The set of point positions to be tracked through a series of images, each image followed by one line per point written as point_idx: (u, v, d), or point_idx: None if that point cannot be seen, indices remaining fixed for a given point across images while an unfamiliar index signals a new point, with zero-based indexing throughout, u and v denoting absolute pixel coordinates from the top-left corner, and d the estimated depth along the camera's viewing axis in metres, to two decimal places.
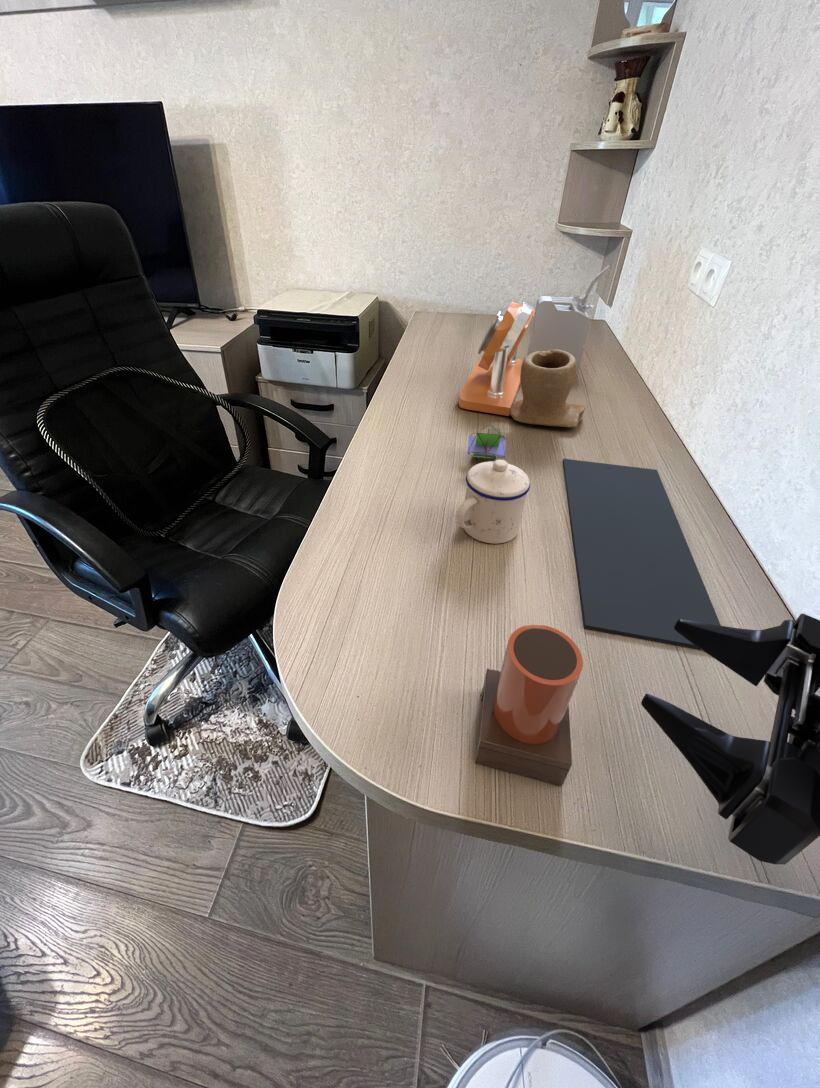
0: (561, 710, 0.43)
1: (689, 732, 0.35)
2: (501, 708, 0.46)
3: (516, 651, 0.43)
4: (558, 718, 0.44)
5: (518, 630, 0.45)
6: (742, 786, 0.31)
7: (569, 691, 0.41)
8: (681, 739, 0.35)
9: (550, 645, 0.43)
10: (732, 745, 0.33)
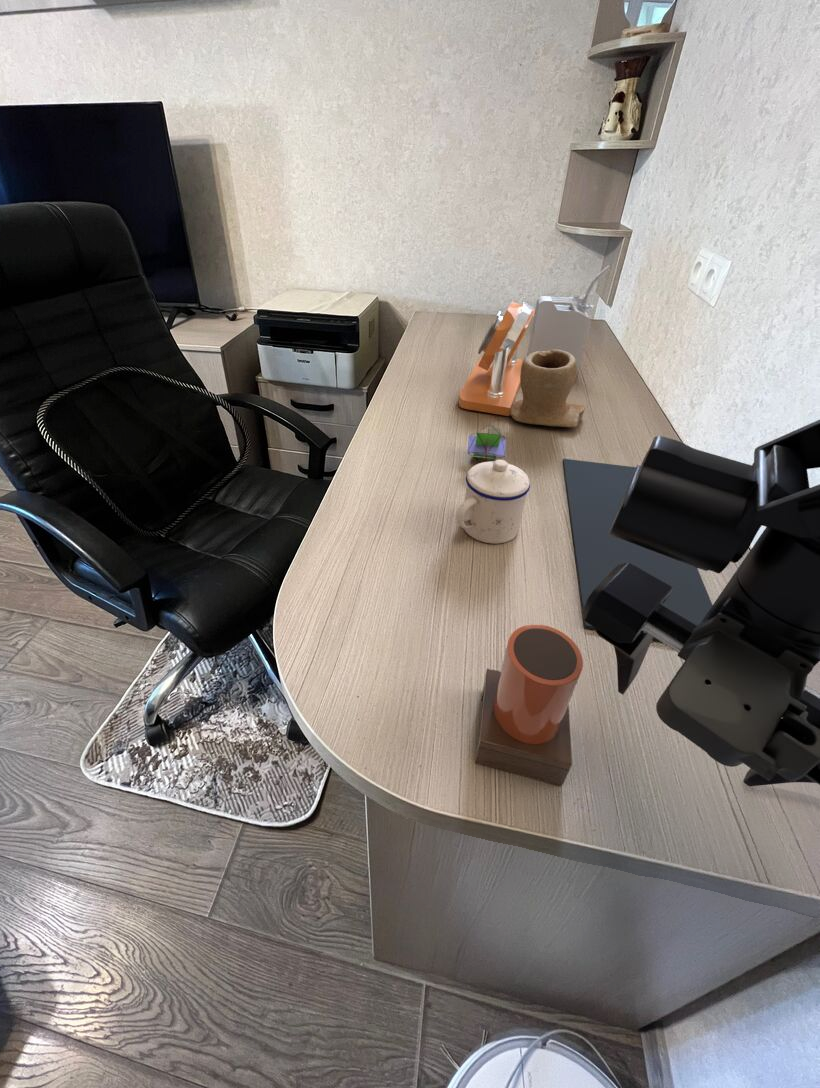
0: (561, 710, 0.43)
1: None
2: (501, 708, 0.46)
3: (516, 651, 0.43)
4: (558, 718, 0.44)
5: (518, 630, 0.45)
6: None
7: (569, 691, 0.41)
8: None
9: (550, 645, 0.43)
10: None
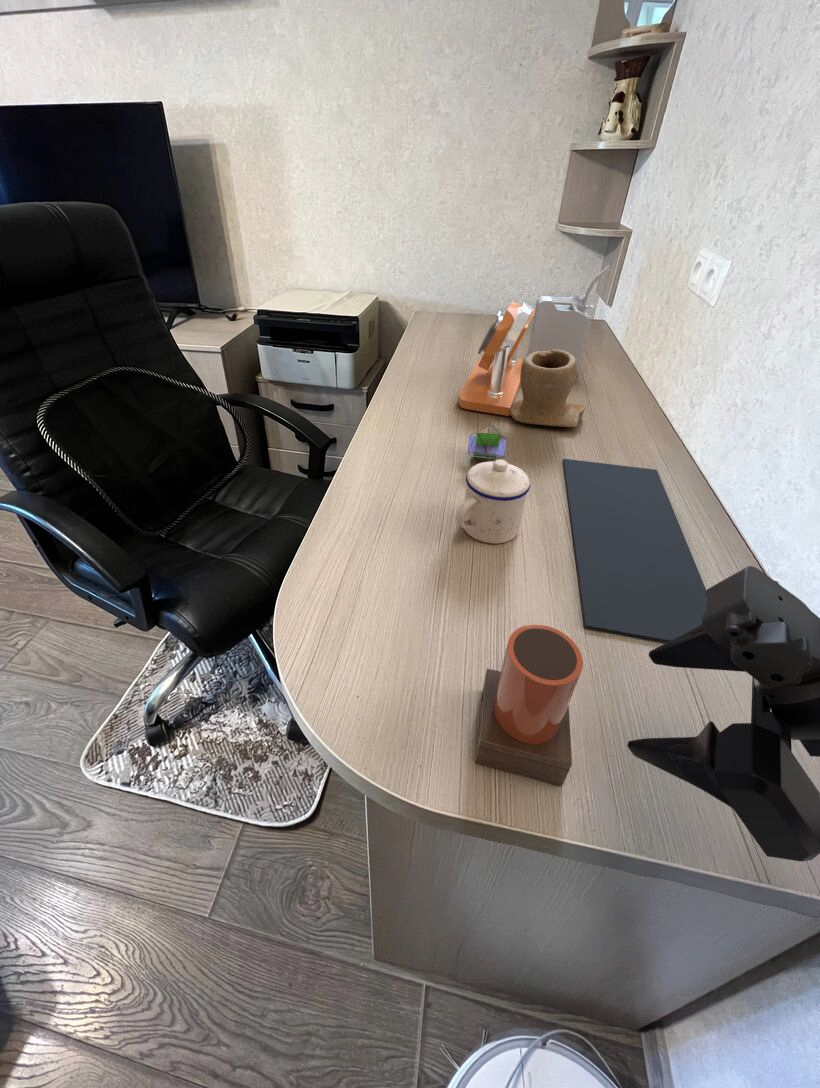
0: (561, 710, 0.43)
1: (671, 756, 0.33)
2: (501, 708, 0.46)
3: (516, 651, 0.43)
4: (558, 718, 0.44)
5: (518, 630, 0.45)
6: (715, 782, 0.29)
7: (569, 691, 0.41)
8: (676, 769, 0.33)
9: (550, 645, 0.43)
10: (696, 746, 0.31)
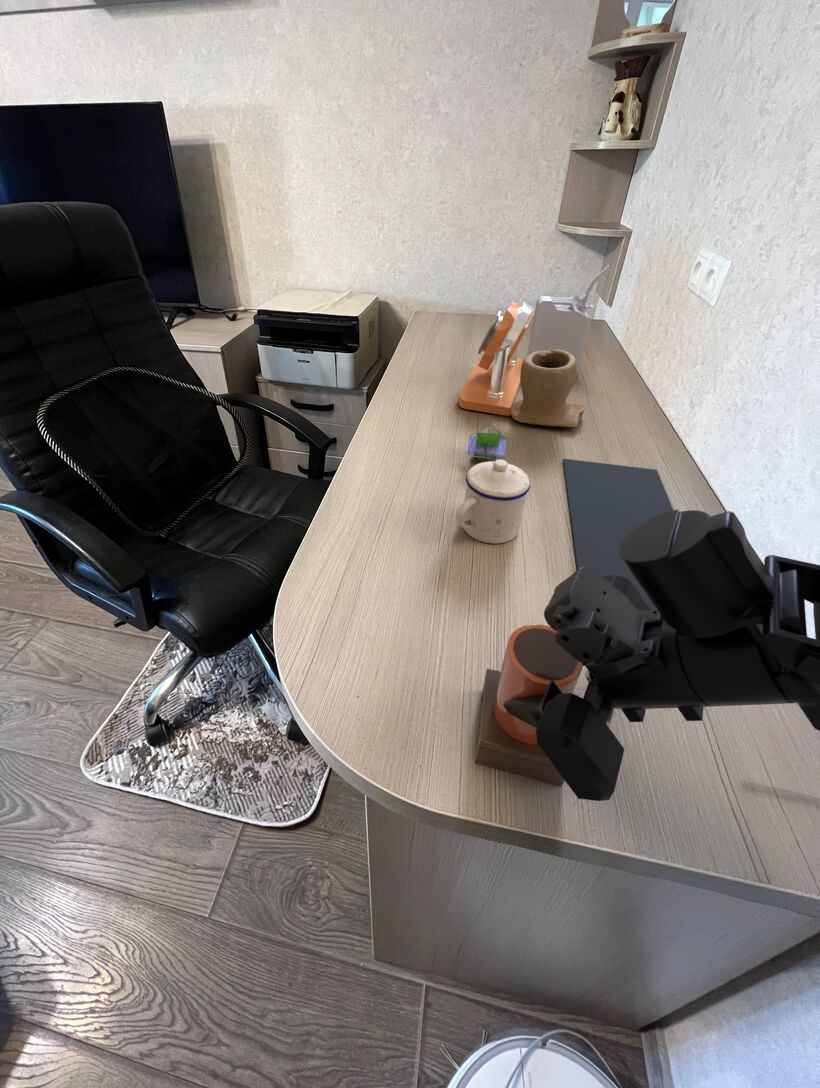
0: None
1: (529, 711, 0.41)
2: (501, 708, 0.46)
3: (516, 651, 0.43)
4: None
5: (518, 630, 0.45)
6: None
7: (569, 691, 0.41)
8: (534, 721, 0.41)
9: (550, 645, 0.43)
10: (543, 700, 0.39)
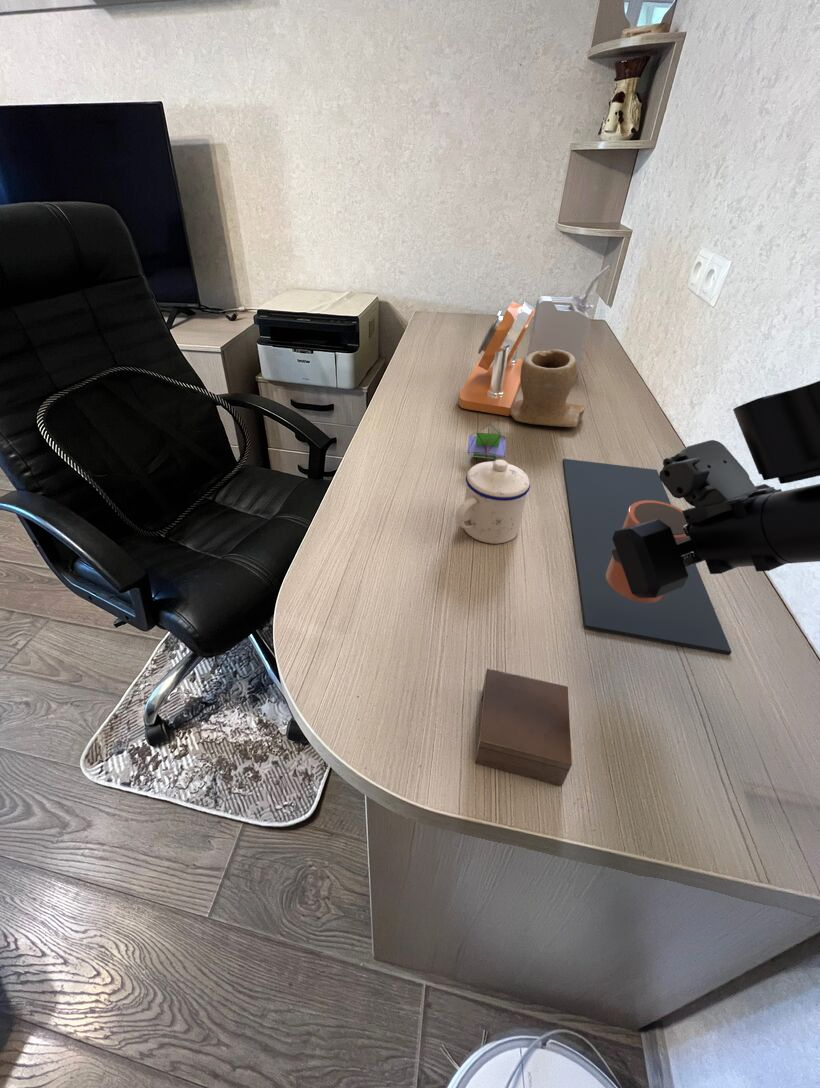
0: None
1: None
2: (611, 562, 0.55)
3: (636, 509, 0.52)
4: None
5: (648, 501, 0.53)
6: None
7: None
8: None
9: (670, 516, 0.51)
10: None
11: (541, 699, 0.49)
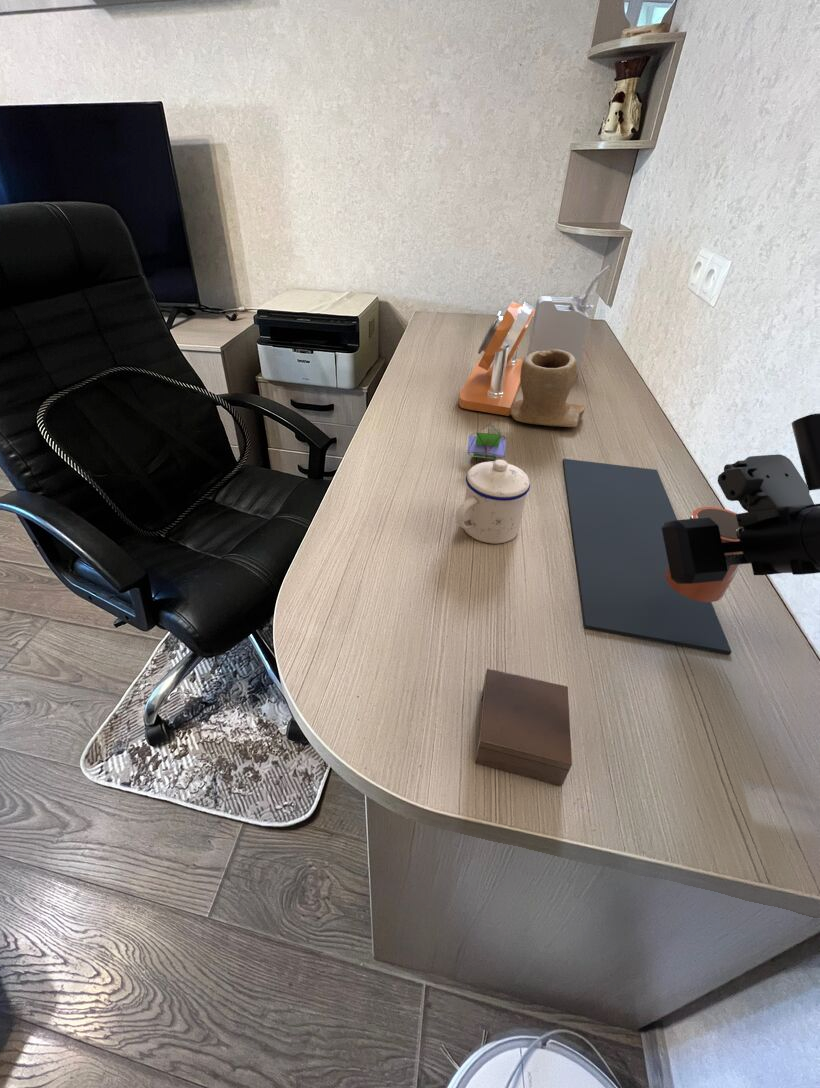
0: None
1: None
2: None
3: (701, 512, 0.56)
4: None
5: (715, 508, 0.57)
6: None
7: None
8: None
9: (733, 523, 0.54)
10: None
11: (541, 699, 0.49)
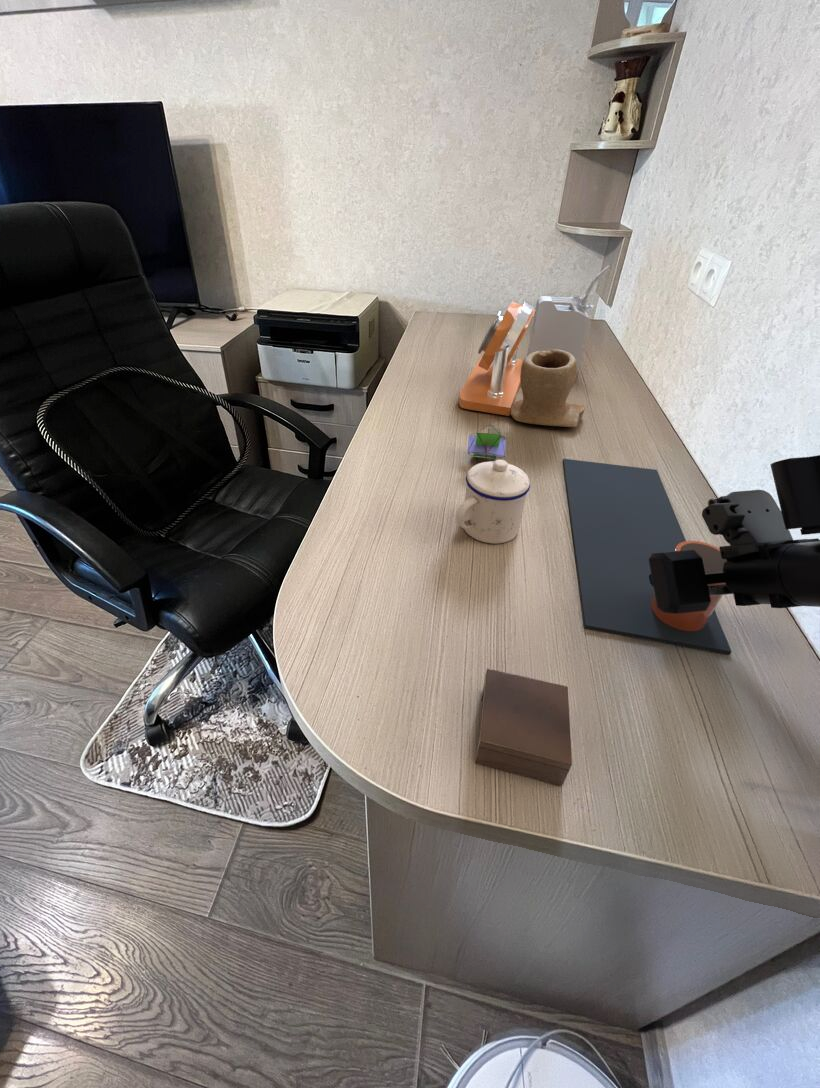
0: None
1: None
2: None
3: (684, 547, 0.59)
4: None
5: (698, 542, 0.60)
6: None
7: None
8: None
9: (714, 558, 0.57)
10: None
11: (541, 699, 0.49)
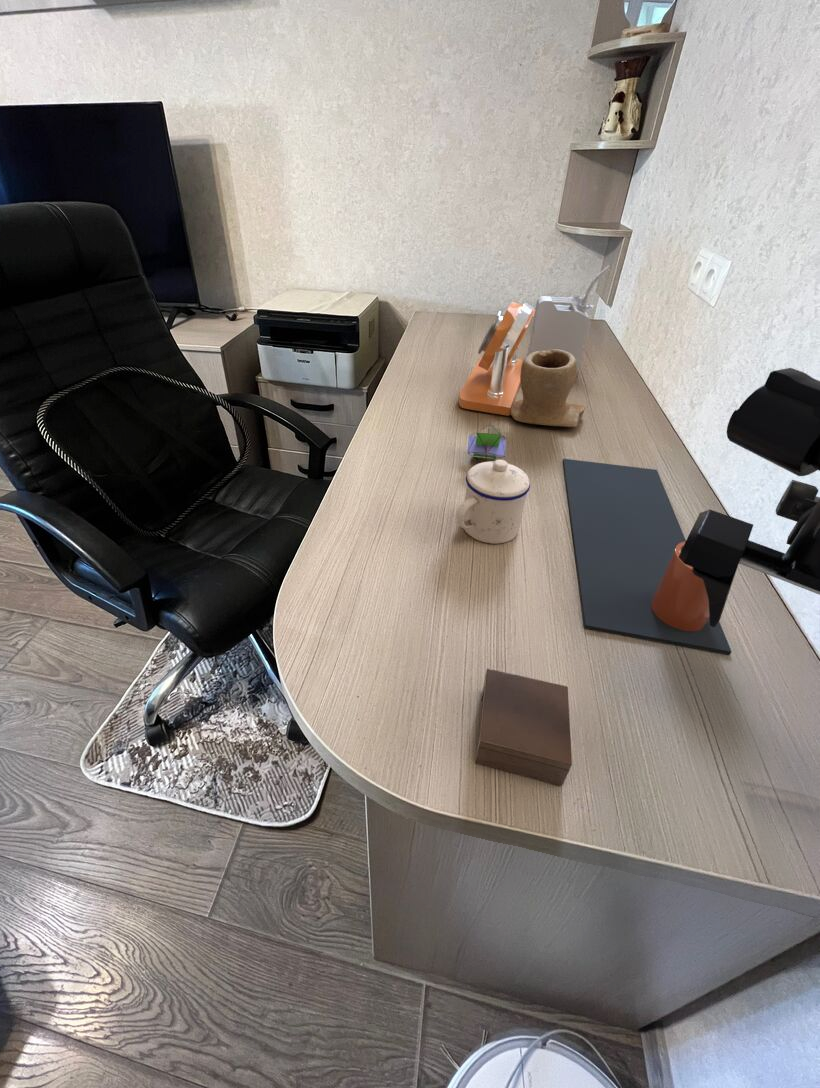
0: (695, 603, 0.57)
1: None
2: (656, 589, 0.62)
3: None
4: (691, 610, 0.58)
5: None
6: None
7: None
8: None
9: None
10: None
11: (541, 699, 0.49)
